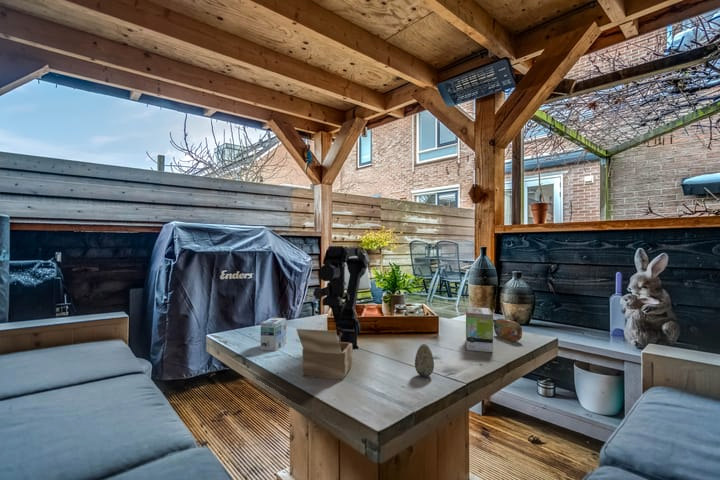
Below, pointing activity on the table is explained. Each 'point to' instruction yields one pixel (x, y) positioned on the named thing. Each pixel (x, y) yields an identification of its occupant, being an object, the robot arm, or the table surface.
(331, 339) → the carton flap
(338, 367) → the carton
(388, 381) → the table surface
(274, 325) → the light bulb box
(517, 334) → the tin
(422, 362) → the decorative egg
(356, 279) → the robot arm
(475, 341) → the tea box
